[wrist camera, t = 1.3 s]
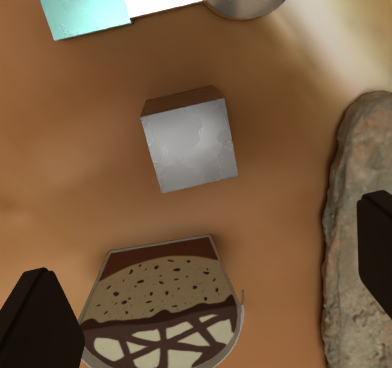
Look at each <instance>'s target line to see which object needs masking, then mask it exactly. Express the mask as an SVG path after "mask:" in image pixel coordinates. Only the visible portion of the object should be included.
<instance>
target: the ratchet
mask: <svg viewBox="0 0 392 368" xmlns="http://www.w3.org/2000/svg"><path fill="white" fill-rule="evenodd" d="M40 1H41V4H42V7H43V10H44V13H45V15H46V18H47V21H48V24H49V27H50V30H51V32H52V35H53V38H54V41H58V40H69V39H73V38H77V37H81V36H86V35H90V34H94V33H98V32H102V31H107V30H111V29H115V28H119V27H124V26H128V25H132V24H134V21H133V19H136V18H141V17H145V16H149V15H153V14H158V13H162V12H166V11H170V10H174V9H179V8H183V7H187V6H191V5H195V4H200V3H204V4H205V5H206V7H207V8H209V9H210V10H211V11H212V12H214V13H215V14H217V15H219V16H221V17H223V18H226V19H230V20H247V19H252V18H257V17H260V16H263V15H266V14H268V13H270V12H272V11H273V10H275V9H276V8H278V7H279V6H280V5H281V4H282V3H283V2H284V1H285V0H40Z"/></svg>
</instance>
